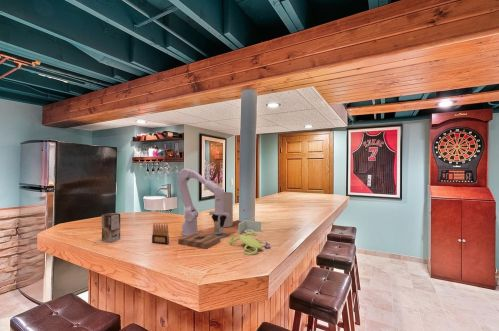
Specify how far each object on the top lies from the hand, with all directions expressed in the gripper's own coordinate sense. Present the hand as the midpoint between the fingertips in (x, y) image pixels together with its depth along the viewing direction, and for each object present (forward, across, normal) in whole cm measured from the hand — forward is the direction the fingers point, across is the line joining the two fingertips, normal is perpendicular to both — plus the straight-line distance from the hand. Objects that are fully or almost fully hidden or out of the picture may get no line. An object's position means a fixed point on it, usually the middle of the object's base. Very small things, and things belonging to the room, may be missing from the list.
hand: (219, 226), depth 160 cm
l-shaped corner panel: (+7, +15, +15) cm, 22 cm away
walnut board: (+6, -2, -18) cm, 19 cm away
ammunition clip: (+6, -22, -29) cm, 37 cm away
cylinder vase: (+6, -11, +24) cm, 27 cm away
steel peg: (+4, 0, -1) cm, 4 cm away
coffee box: (+6, -54, -38) cm, 66 cm away
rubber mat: (+6, 0, 0) cm, 6 cm away
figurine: (+7, +27, -9) cm, 29 cm away
